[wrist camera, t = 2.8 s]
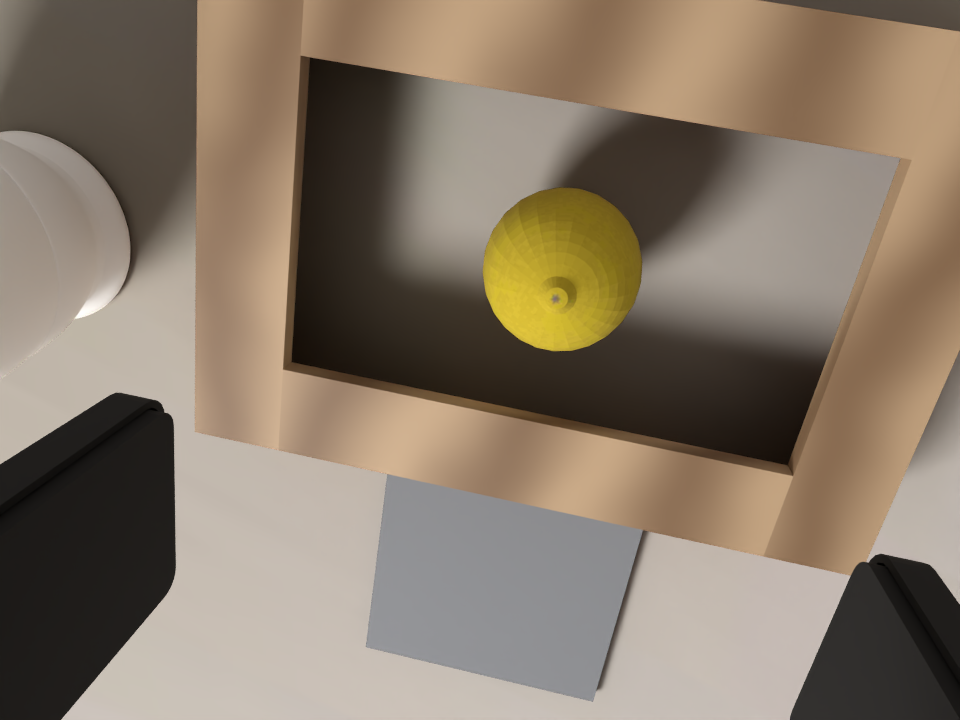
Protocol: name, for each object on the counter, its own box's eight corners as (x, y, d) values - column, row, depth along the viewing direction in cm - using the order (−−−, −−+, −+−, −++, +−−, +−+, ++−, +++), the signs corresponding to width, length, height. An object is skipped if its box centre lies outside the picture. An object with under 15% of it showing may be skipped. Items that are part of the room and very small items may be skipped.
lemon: (522, 157, 28) (496, 180, 20) (656, 202, 27) (680, 241, 20) (481, 287, 30) (444, 351, 22) (606, 329, 29) (611, 407, 22)
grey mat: (649, 496, 32) (650, 503, 31) (592, 692, 36) (592, 701, 36) (394, 441, 33) (390, 447, 32) (369, 638, 37) (365, 647, 37)
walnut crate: (992, 60, 24) (1091, 51, 19) (817, 501, 31) (859, 577, 26) (269, -54, 26) (197, -87, 21) (253, 382, 33) (194, 432, 28)
